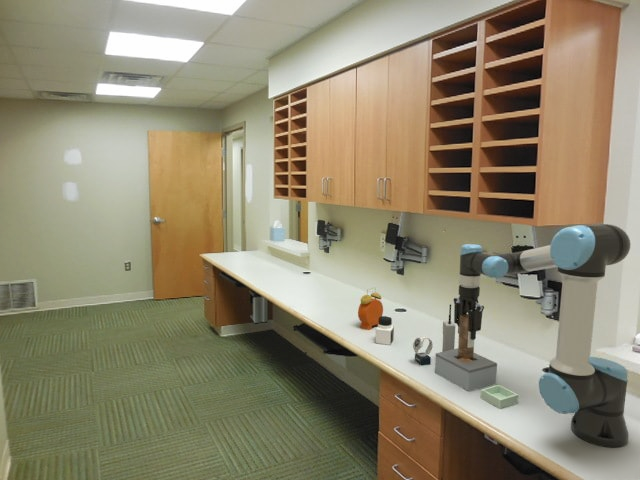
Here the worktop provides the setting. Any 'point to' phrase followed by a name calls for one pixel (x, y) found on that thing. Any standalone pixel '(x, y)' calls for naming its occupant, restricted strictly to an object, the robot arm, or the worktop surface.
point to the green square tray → (499, 396)
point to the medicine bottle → (385, 331)
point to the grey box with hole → (466, 370)
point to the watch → (422, 357)
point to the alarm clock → (370, 310)
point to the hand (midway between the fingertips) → (466, 344)
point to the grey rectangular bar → (448, 334)
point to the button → (465, 360)
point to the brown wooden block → (464, 338)
